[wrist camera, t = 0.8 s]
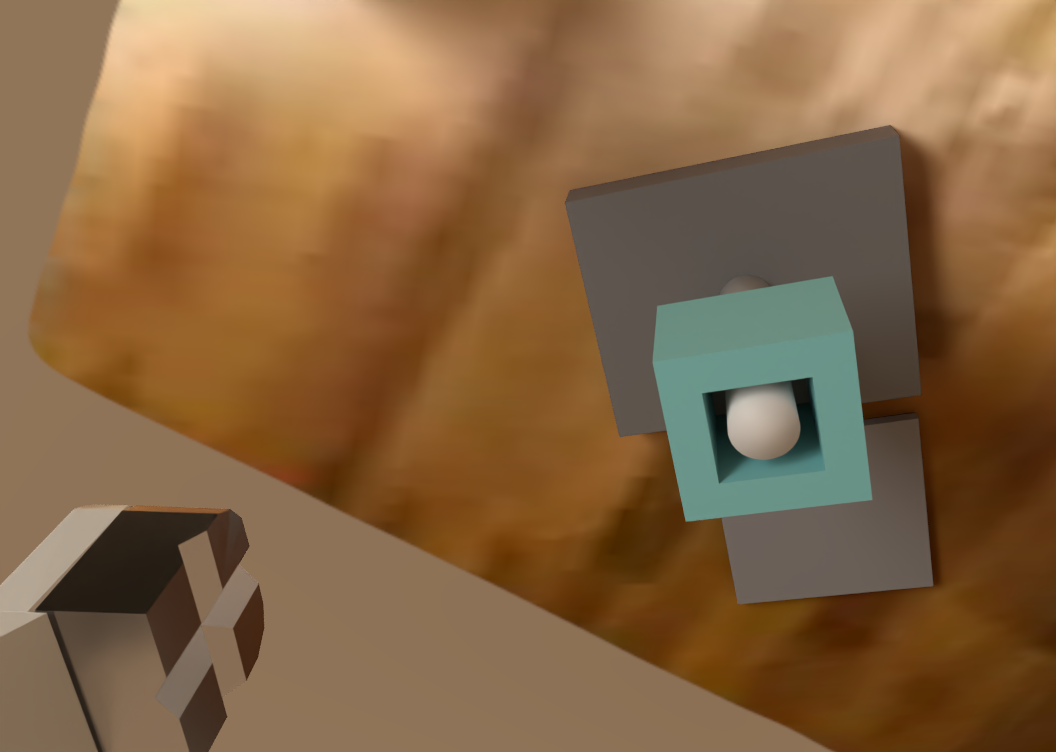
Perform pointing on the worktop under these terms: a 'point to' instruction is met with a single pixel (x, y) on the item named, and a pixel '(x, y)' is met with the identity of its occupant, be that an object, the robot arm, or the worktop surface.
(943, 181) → the worktop surface
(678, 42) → the worktop surface
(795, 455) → the collar
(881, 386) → the stand
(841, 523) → the mat
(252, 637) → the robot arm
